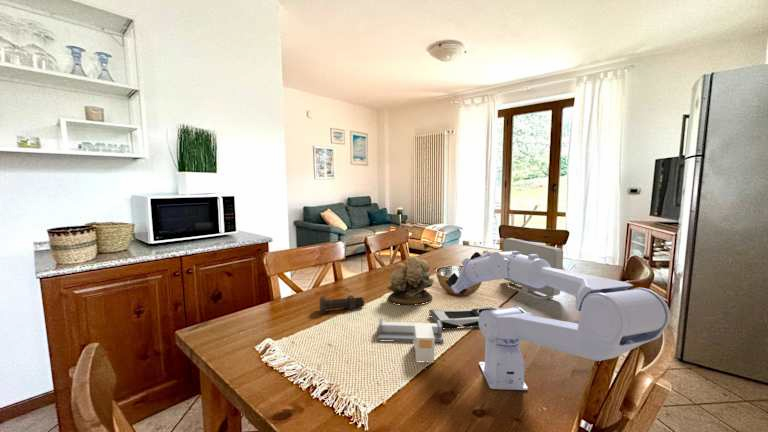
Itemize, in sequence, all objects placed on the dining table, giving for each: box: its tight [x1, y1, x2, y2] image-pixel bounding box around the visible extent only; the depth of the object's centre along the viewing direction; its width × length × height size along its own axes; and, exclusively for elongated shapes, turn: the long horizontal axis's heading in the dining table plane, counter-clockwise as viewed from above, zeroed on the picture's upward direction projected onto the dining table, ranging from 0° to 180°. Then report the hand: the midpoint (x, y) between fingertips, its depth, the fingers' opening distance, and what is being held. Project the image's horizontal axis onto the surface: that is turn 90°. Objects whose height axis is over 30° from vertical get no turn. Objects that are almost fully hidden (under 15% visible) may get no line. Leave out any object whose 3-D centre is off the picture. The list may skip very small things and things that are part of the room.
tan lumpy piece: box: [387, 255, 435, 306], centre depth 116 cm, size 18×12×17 cm, turn 106°
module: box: [413, 322, 436, 363], centre depth 80 cm, size 8×4×6 cm, turn 178°
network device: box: [502, 237, 564, 300], centre depth 127 cm, size 26×9×20 cm, turn 25°
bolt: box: [319, 295, 366, 315], centre depth 107 cm, size 6×5×15 cm
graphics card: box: [428, 306, 502, 330], centre depth 99 cm, size 10×3×25 cm
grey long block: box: [377, 317, 444, 343], centre depth 90 cm, size 9×18×4 cm, turn 88°
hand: (457, 275), depth 89 cm, fingers open, 7 cm apart
